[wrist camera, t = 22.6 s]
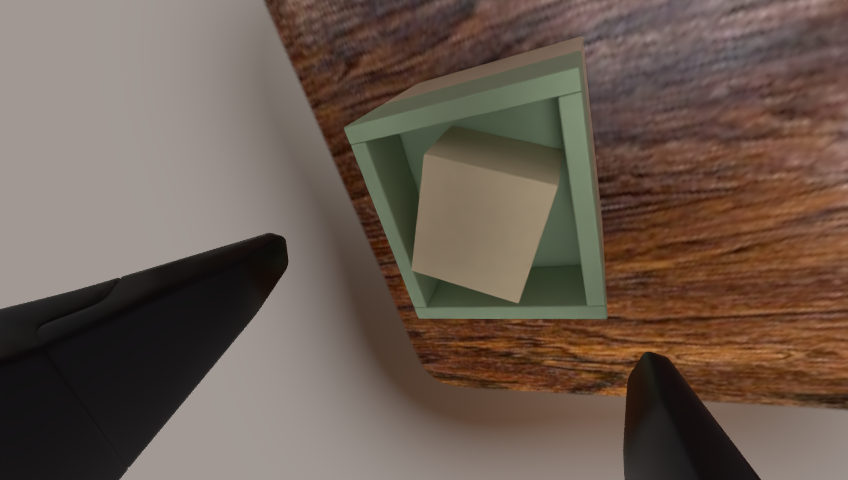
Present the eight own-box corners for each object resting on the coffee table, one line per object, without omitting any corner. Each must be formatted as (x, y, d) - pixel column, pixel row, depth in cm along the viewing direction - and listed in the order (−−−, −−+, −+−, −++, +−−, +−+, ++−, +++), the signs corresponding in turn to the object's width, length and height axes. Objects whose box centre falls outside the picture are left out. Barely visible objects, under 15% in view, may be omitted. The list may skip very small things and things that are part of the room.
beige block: (529, 256, 16) (518, 304, 14) (435, 229, 17) (410, 271, 14) (564, 149, 13) (558, 186, 11) (451, 124, 14) (423, 153, 12)
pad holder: (417, 83, 18) (342, 127, 13) (582, 35, 15) (579, 66, 10) (461, 233, 22) (418, 319, 16) (602, 220, 19) (607, 319, 13)
